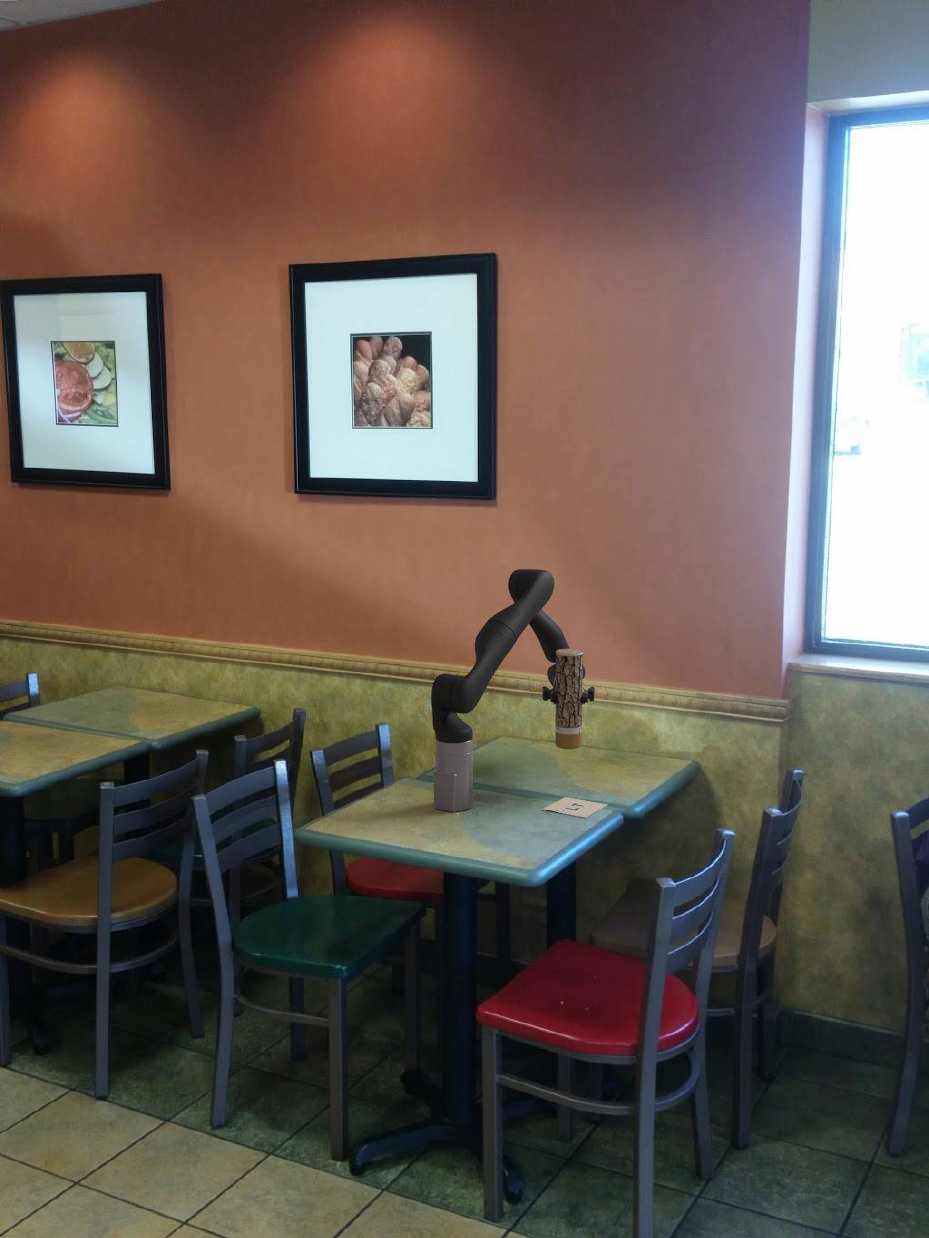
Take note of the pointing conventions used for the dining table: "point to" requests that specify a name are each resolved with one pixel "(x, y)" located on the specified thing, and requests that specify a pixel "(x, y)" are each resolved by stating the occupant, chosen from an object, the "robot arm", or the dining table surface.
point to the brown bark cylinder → (569, 698)
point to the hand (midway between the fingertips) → (569, 700)
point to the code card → (575, 807)
